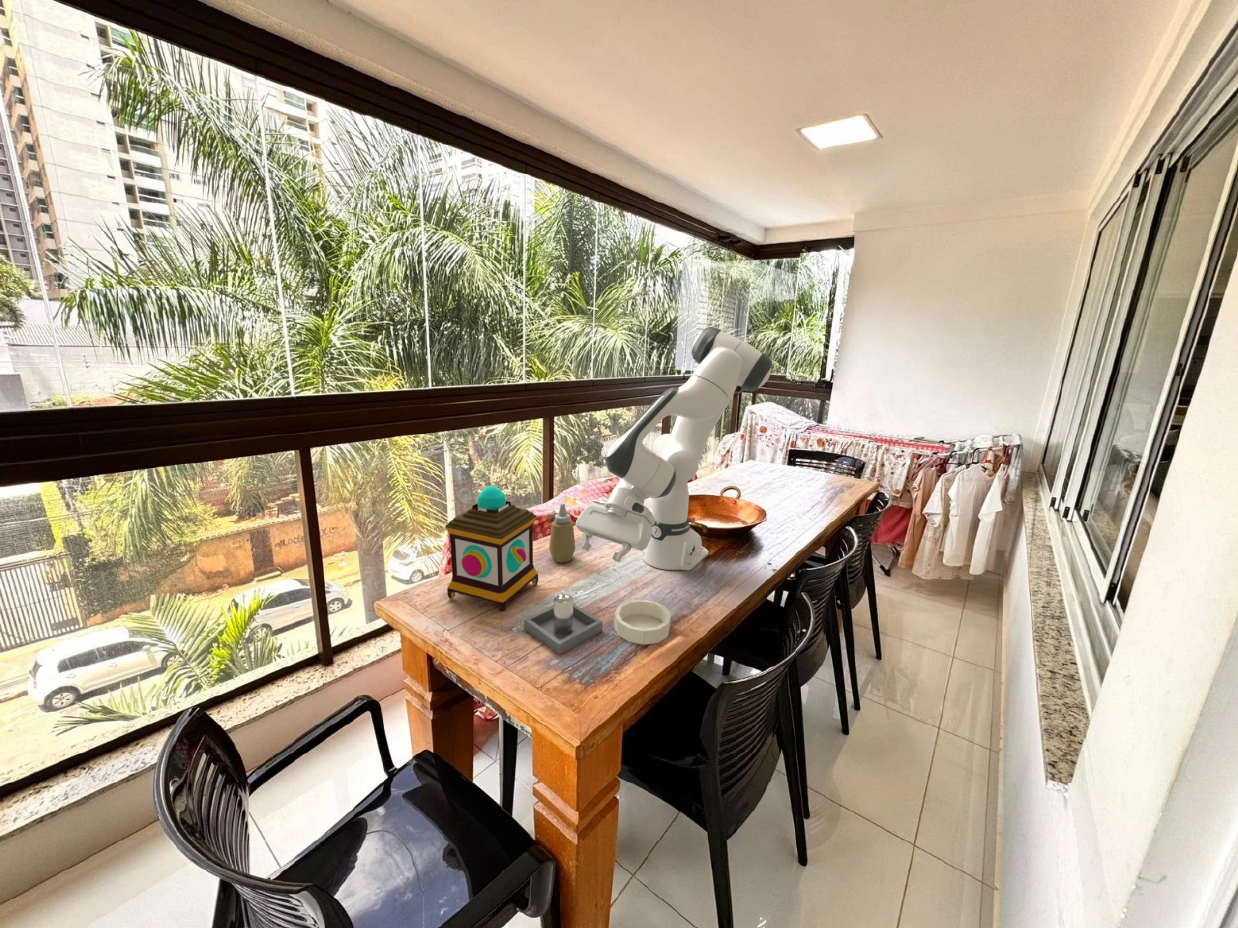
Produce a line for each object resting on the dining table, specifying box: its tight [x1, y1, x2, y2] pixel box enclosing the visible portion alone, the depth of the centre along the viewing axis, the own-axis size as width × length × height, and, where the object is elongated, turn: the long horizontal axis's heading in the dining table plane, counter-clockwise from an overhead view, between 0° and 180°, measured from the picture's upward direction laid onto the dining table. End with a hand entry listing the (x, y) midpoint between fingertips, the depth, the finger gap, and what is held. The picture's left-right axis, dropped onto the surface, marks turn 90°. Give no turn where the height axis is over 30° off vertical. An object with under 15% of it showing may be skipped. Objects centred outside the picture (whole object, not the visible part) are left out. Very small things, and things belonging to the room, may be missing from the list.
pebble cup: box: [553, 593, 574, 635], centre depth 116 cm, size 4×4×9 cm
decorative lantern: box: [444, 485, 539, 612], centre depth 131 cm, size 20×20×30 cm
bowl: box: [613, 599, 672, 645], centre depth 119 cm, size 13×13×4 cm
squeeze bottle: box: [548, 503, 576, 563], centre depth 152 cm, size 8×8×18 cm
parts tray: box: [523, 603, 603, 655], centre depth 117 cm, size 13×13×4 cm
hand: (599, 555), depth 123 cm, fingers open, 8 cm apart
